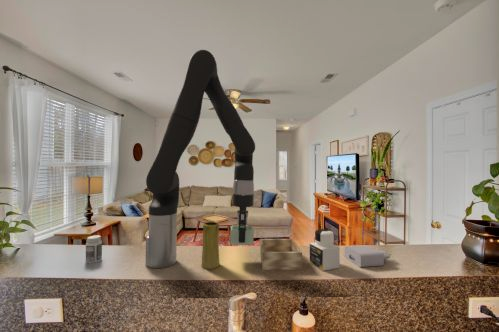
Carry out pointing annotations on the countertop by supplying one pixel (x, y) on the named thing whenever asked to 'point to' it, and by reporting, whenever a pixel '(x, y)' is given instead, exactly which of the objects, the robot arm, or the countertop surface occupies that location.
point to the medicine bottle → (324, 251)
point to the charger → (365, 256)
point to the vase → (210, 245)
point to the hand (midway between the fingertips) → (241, 239)
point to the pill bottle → (93, 249)
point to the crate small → (235, 235)
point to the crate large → (280, 254)
